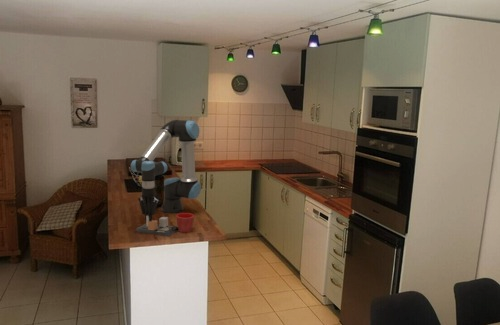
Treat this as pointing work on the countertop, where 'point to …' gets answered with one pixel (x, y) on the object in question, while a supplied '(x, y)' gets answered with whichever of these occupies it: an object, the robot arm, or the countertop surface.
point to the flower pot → (185, 222)
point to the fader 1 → (152, 225)
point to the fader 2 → (163, 221)
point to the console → (158, 230)
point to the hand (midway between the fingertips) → (148, 225)
